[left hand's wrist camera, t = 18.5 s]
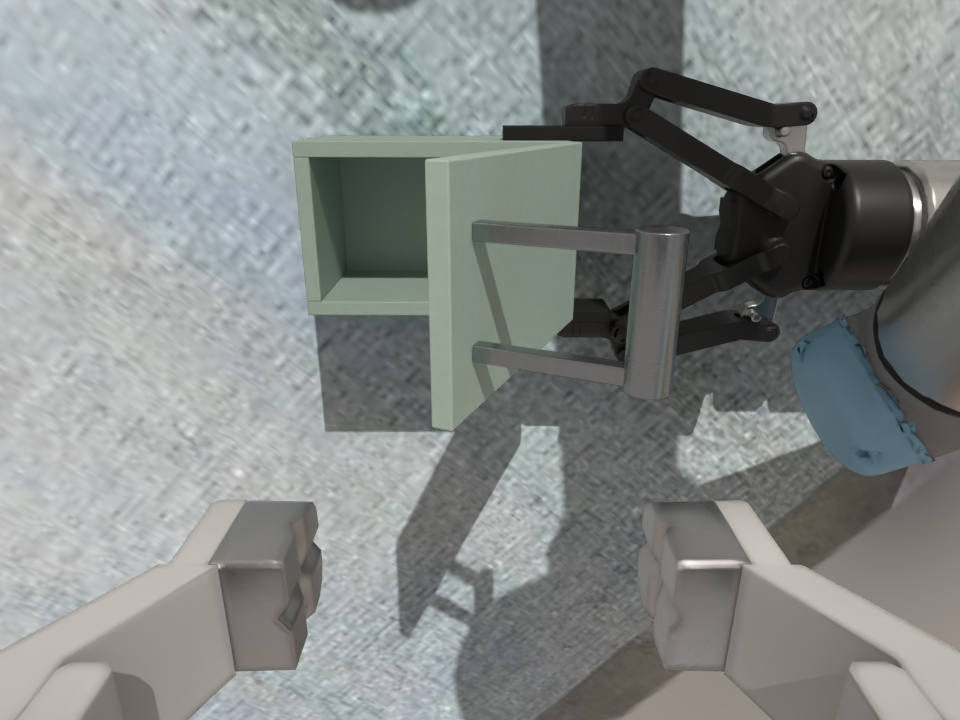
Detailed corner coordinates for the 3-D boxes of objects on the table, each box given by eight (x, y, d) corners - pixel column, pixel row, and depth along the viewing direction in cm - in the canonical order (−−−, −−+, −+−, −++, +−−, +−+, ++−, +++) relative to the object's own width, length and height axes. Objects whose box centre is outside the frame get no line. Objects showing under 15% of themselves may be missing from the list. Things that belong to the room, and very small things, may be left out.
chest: (338, 279, 46) (308, 315, 38) (327, 135, 43) (291, 140, 35) (550, 280, 46) (564, 316, 38) (556, 136, 43) (573, 141, 35)
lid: (431, 428, 25) (654, 475, 21) (423, 158, 21) (688, 167, 18) (558, 317, 38) (707, 336, 35) (566, 141, 34) (732, 144, 31)
